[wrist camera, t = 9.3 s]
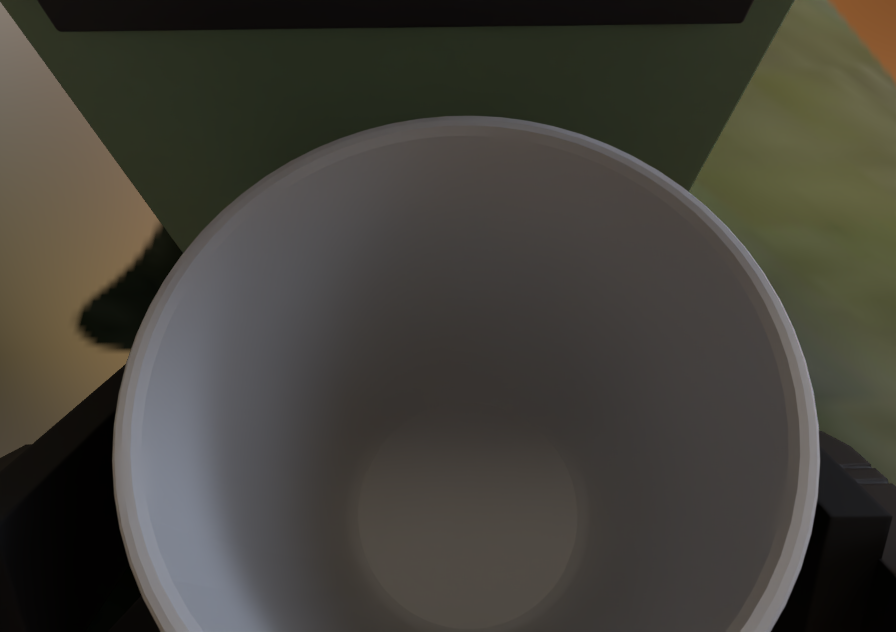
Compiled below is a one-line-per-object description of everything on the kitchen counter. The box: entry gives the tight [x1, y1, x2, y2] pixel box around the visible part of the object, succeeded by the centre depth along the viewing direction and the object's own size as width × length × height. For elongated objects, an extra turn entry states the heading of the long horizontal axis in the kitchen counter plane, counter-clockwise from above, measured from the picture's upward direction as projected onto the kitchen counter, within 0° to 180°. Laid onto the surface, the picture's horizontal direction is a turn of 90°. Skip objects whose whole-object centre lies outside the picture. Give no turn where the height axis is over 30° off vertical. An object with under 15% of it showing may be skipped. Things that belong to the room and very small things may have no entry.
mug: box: [107, 116, 820, 632], centre depth 12 cm, size 12×9×10 cm
